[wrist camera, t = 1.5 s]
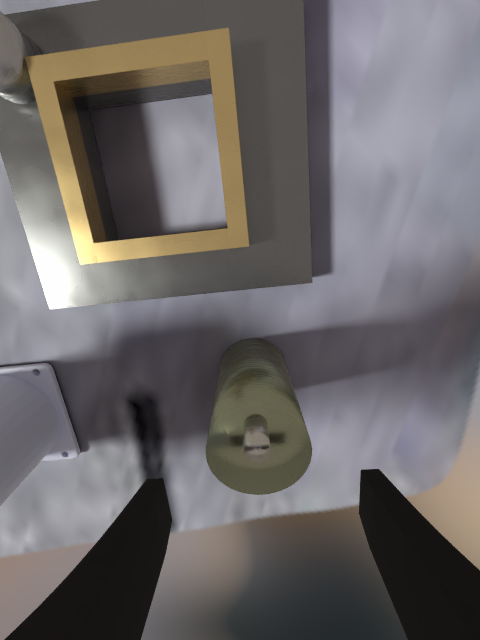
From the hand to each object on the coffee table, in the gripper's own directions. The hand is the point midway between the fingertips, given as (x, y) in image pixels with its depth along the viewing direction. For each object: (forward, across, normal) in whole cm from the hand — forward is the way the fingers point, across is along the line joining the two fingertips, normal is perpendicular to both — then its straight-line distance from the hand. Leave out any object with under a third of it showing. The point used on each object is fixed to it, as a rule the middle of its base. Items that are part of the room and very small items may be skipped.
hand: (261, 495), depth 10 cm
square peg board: (+10, +4, -13) cm, 17 cm away
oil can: (+10, 0, 0) cm, 10 cm away
